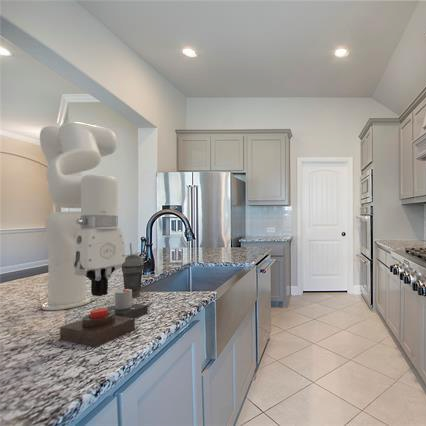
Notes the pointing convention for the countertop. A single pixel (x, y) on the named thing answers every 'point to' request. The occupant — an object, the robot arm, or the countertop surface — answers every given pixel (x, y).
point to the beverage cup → (133, 273)
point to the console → (130, 310)
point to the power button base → (97, 329)
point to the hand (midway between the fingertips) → (99, 294)
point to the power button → (99, 313)
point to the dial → (123, 299)
